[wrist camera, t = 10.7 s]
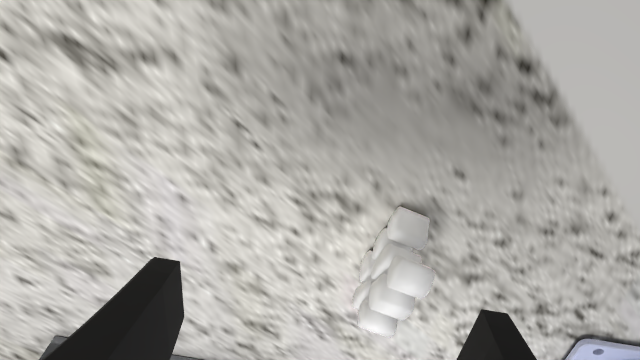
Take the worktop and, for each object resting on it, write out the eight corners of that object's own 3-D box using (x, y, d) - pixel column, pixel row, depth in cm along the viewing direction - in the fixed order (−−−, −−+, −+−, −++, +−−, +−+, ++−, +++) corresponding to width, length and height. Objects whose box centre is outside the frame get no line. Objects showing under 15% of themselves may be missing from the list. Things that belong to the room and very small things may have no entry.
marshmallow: (402, 200, 21) (403, 278, 17) (430, 211, 21) (436, 291, 17) (355, 264, 24) (348, 341, 20) (380, 273, 24) (377, 351, 21)
